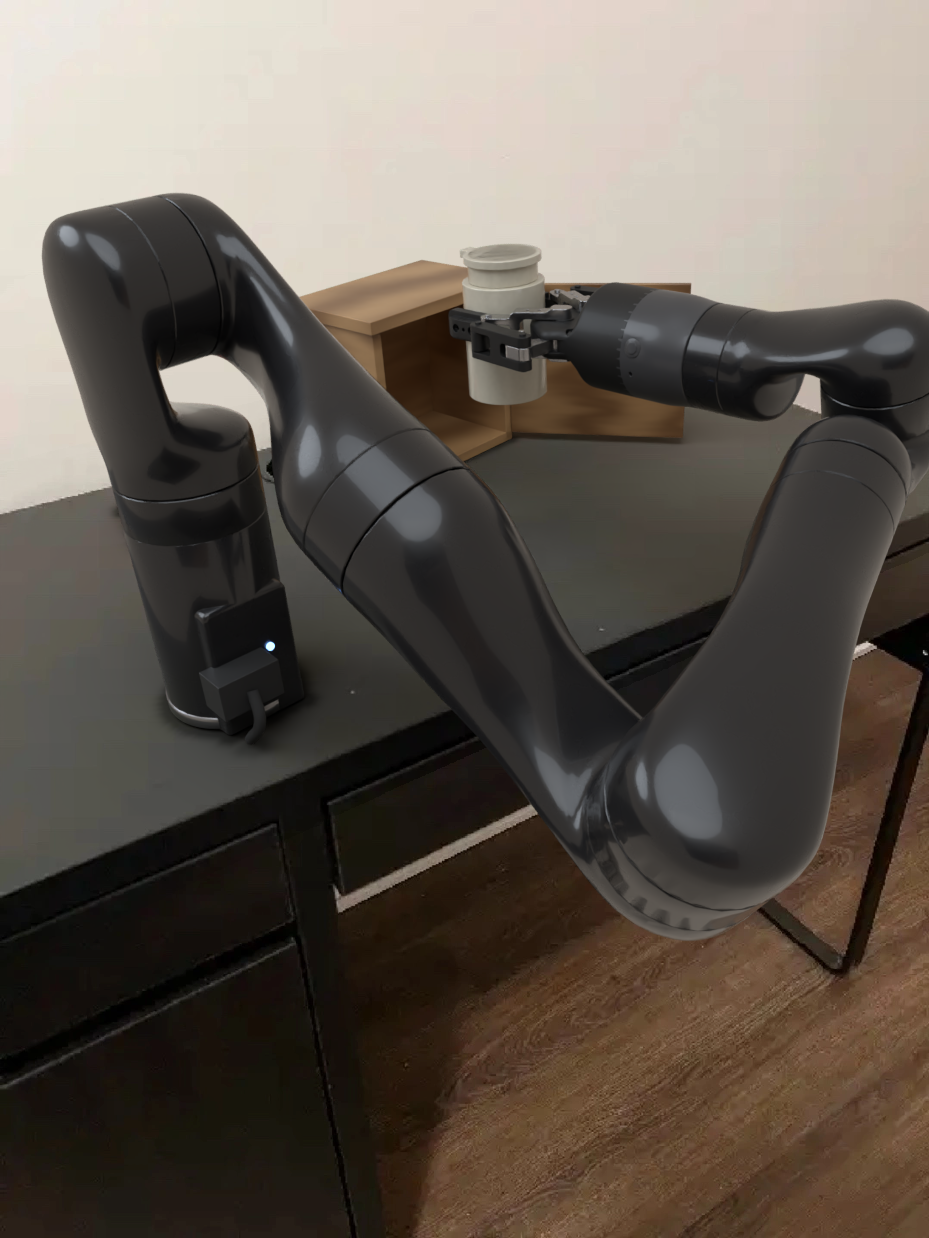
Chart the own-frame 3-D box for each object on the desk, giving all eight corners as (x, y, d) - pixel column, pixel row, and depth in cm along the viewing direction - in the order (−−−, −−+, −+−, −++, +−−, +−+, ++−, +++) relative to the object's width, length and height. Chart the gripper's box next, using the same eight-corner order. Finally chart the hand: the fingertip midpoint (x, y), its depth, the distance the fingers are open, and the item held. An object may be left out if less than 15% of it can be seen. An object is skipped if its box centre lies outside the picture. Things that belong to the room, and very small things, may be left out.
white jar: (563, 387, 84) (561, 248, 78) (511, 411, 80) (504, 266, 74) (498, 371, 88) (492, 238, 83) (446, 393, 85) (435, 255, 79)
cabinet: (684, 444, 107) (694, 274, 98) (507, 544, 90) (499, 353, 81) (486, 390, 124) (478, 242, 115) (307, 467, 108) (281, 302, 98)
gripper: (591, 428, 70) (422, 381, 80) (709, 369, 78) (542, 334, 89) (591, 317, 66) (413, 283, 76) (715, 268, 74) (540, 244, 85)
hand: (483, 311), depth 82 cm, fingers closed on white jar, 6 cm apart
